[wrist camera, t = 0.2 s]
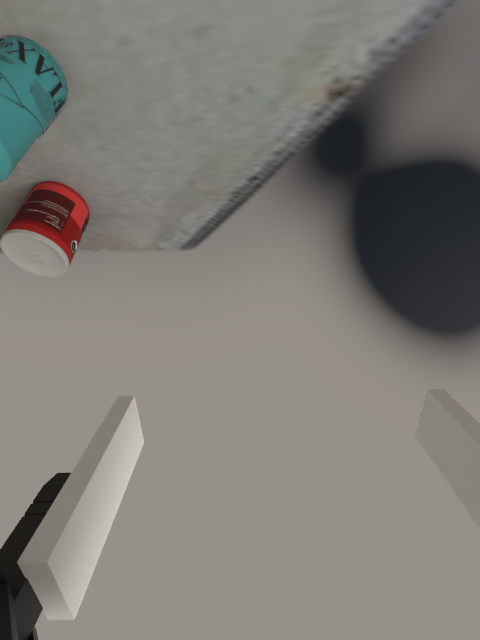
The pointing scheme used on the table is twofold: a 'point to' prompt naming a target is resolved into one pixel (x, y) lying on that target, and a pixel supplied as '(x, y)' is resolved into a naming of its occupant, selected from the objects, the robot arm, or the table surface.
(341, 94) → the table surface
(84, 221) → the canned food
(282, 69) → the table surface
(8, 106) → the beverage bottle
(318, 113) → the table surface
